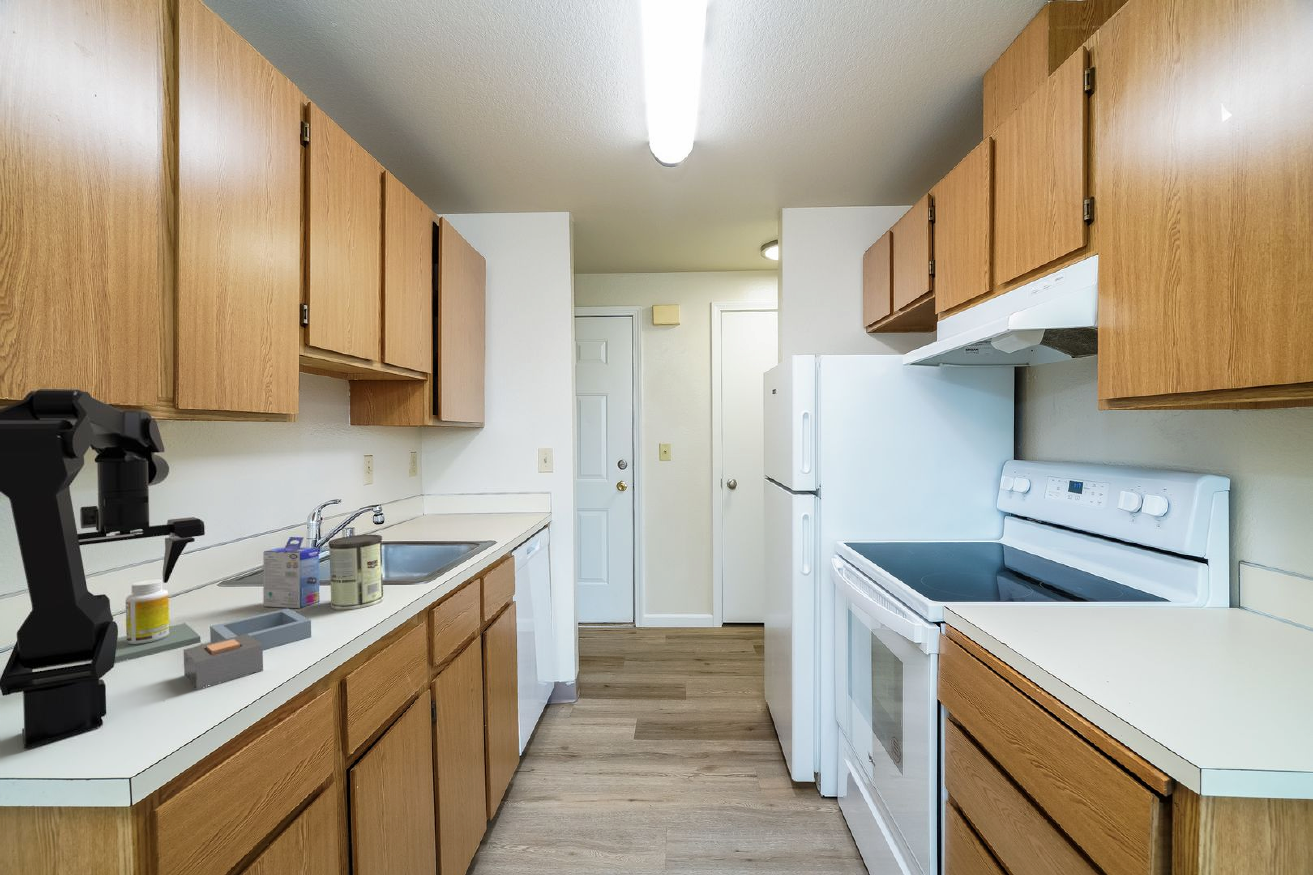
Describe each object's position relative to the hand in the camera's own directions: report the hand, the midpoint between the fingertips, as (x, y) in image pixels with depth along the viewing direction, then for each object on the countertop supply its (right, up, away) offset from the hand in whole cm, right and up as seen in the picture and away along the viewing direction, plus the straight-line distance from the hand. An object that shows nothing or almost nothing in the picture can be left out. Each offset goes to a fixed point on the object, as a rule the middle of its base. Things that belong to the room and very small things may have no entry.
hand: (126, 589), depth 85 cm
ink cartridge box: (+4, -13, +33) cm, 36 cm away
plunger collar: (+17, -13, -2) cm, 21 cm away
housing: (+13, -13, +12) cm, 21 cm away
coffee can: (+18, -13, +33) cm, 40 cm away
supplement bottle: (-7, -12, +11) cm, 17 cm away
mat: (-7, -13, +11) cm, 18 cm away
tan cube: (+17, -11, -2) cm, 20 cm away
